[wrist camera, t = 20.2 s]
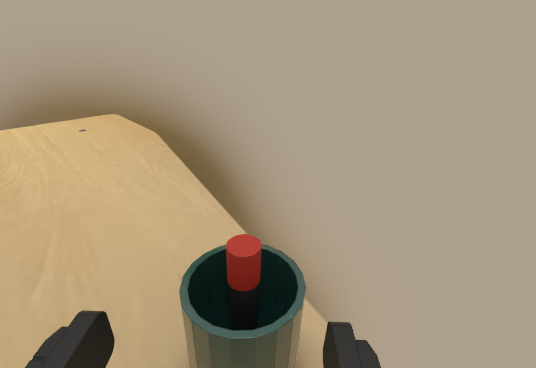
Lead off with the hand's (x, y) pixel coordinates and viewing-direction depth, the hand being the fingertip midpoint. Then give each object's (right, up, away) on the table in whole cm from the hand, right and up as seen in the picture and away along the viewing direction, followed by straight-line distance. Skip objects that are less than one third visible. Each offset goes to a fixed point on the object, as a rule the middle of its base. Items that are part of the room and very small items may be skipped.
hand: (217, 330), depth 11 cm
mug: (0, -11, +17) cm, 20 cm away
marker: (0, -11, +15) cm, 19 cm away
